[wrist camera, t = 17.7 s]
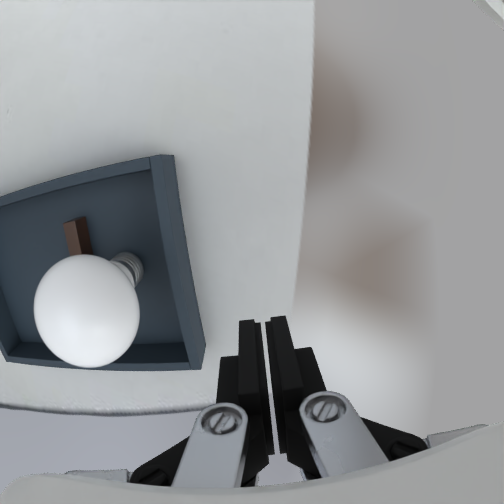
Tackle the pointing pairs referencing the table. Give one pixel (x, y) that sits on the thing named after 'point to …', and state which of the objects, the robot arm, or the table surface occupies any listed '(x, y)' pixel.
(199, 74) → the table surface
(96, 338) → the lightbulb
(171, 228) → the tray
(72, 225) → the strip
